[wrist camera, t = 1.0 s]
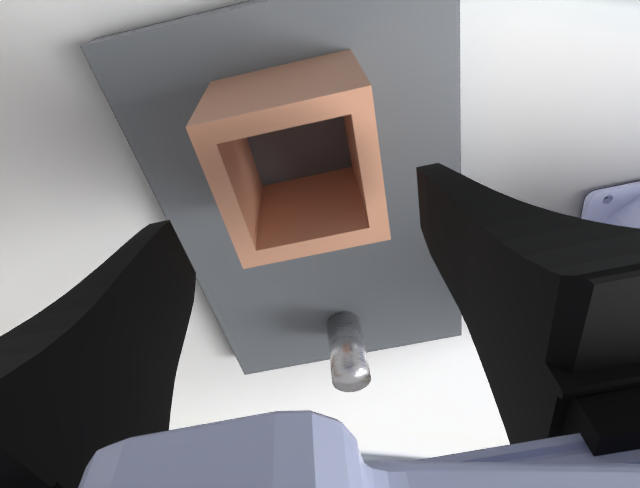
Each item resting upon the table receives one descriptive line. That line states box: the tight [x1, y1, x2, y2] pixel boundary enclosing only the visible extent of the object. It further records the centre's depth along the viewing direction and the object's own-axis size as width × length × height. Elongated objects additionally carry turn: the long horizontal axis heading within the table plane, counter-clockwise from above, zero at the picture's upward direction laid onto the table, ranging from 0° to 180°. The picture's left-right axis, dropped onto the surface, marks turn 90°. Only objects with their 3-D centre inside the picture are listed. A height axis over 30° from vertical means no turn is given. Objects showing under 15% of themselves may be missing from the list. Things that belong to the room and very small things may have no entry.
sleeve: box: [186, 49, 391, 269], centre depth 16 cm, size 6×6×5 cm
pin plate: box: [81, 0, 461, 392], centre depth 20 cm, size 14×20×6 cm
